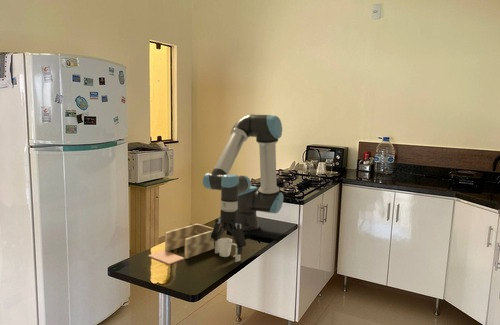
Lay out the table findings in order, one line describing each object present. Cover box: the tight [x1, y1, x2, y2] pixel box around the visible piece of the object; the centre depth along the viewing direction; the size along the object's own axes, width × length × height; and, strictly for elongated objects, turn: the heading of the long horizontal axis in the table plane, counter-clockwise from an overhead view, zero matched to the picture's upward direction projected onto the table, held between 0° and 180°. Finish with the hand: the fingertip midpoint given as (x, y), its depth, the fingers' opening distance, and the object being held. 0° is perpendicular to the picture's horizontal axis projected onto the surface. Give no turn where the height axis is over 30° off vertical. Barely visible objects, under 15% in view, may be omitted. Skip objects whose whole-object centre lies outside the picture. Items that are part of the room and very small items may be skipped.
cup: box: [218, 237, 237, 258], centre depth 171 cm, size 7×10×8 cm
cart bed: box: [164, 223, 215, 260], centre depth 178 cm, size 20×14×10 cm
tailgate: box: [147, 249, 186, 266], centre depth 166 cm, size 1×14×9 cm
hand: (227, 257), depth 172 cm, fingers open, 11 cm apart
